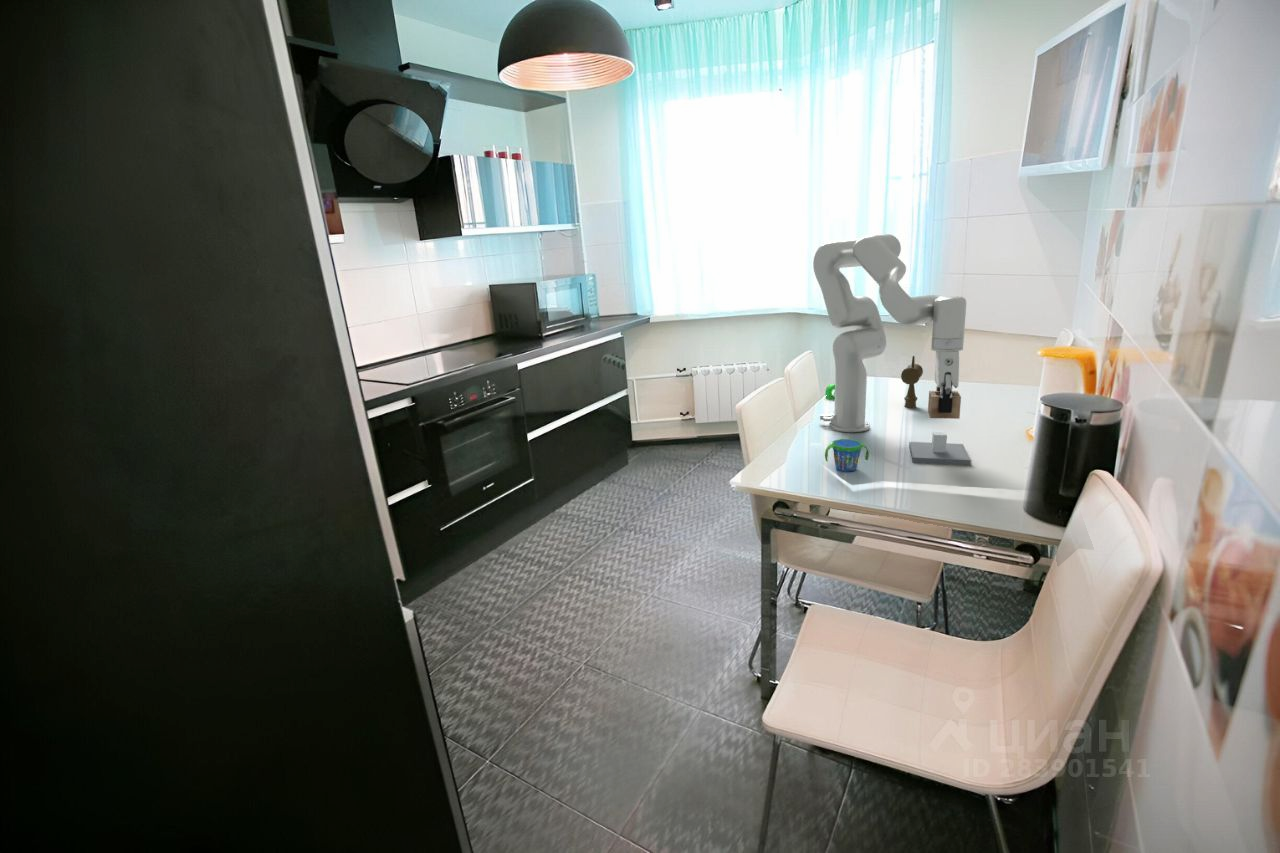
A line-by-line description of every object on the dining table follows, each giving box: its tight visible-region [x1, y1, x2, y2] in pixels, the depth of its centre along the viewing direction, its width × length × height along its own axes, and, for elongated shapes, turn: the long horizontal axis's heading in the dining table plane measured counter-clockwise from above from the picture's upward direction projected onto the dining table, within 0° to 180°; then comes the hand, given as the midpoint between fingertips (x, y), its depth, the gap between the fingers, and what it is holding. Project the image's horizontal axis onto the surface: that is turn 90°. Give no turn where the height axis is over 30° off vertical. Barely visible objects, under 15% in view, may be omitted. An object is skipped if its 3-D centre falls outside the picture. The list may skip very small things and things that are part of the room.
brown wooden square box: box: [927, 390, 962, 420], centre depth 158 cm, size 7×7×6 cm
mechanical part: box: [825, 383, 835, 400], centre depth 222 cm, size 12×6×8 cm, turn 110°
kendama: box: [900, 355, 924, 409], centre depth 204 cm, size 6×10×20 cm, turn 147°
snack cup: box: [824, 438, 870, 473], centre depth 157 cm, size 11×8×7 cm
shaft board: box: [908, 431, 972, 466], centre depth 162 cm, size 14×14×6 cm
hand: (942, 408), depth 158 cm, fingers closed on brown wooden square box, 7 cm apart
